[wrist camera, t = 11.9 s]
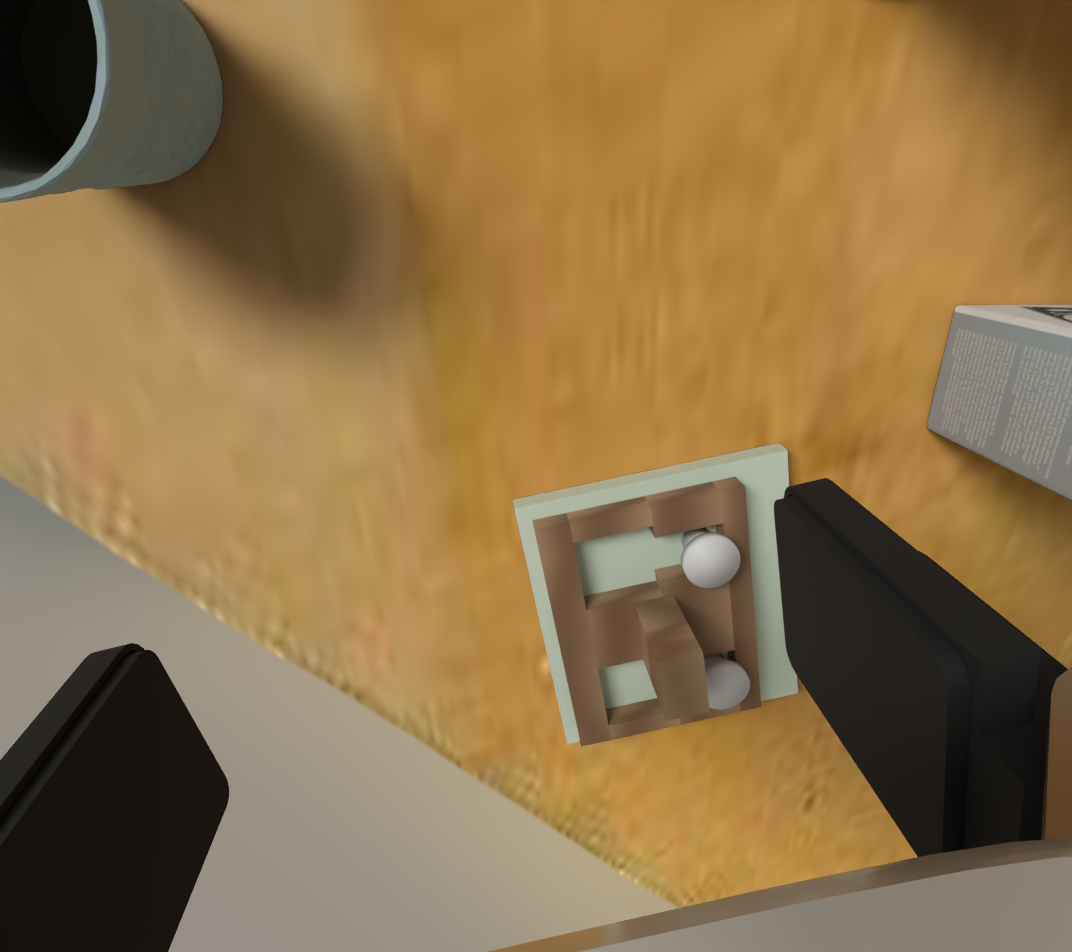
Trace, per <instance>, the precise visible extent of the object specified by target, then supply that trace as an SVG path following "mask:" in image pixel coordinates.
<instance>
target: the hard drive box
mask: <svg viewBox="0 0 1072 952" xmlns="http://www.w3.org/2000/svg"><path fill="white" fill-rule="evenodd" d="M927 428H928V429H929V430H931V431H933V432H935V433H937V434H939V435H941V436H943V437H945V438H947V439H949V440H951V441H952V442H955V443H957V444H959V445H961V446H963V447H965V448H967V449H969V450H971V451H973V452H975V453H977V454H979V455H981V456H983V457H985V458H987V459H989V460H991V461H993V462H995V463H997V464H999V465H1001V466H1003V467H1005V468H1007V469H1009V470H1011V471H1013V472H1015V473H1017V474H1019V475H1021V476H1023V477H1025V478H1027V479H1029V480H1031V481H1033V482H1035V483H1037V484H1039V485H1041V486H1043V487H1045V488H1047V489H1049V490H1051V491H1053V492H1055V493H1057V494H1059V495H1061V496H1063V497H1065V498H1067V499H1069V500H1071V501H1072V305H1027V304H1026V305H960V306H957V307H956V308H955V310H954V314H953V318H952V322H951V326H950V330H949V335H948V339H947V343H946V347H945V351H944V355H943V359H942V363H941V367H940V371H939V375H938V380H937V384H936V388H935V392H934V396H933V401H932V405H931V409H930V413H929V418H928V422H927Z"/></svg>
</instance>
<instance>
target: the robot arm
mask: <svg viewBox="0 0 1072 952" xmlns="http://www.w3.org/2000/svg"><path fill="white" fill-rule="evenodd" d="M774 519H775V531H776V542H777V554H778V565H779V577H780V588H781V600H782V611H783V623H784V634H785V645H786V651H787V655H788V658H789V661H790V663H791V665H792V668H793V669H794V671H795V673H796V674H797V676H798V677H799V679H800V680H801V682H802V683H803V685H804V686H805V688H806V689H807V691H808V692H809V694H810V695H811V697H812V698H813V700H814V701H815V703H816V704H817V706H818V707H819V709H820V710H821V712H822V713H823V715H824V716H825V718H826V719H827V721H828V722H829V724H830V725H831V727H832V728H833V730H834V731H835V733H836V734H837V736H838V737H839V739H840V740H841V742H842V743H843V745H844V746H845V748H846V749H847V751H848V752H849V754H850V755H851V757H852V759H853V760H854V762H855V763H856V765H857V766H858V768H859V769H860V771H861V772H862V774H863V775H864V777H865V778H866V780H867V781H868V783H869V784H870V786H871V787H872V789H873V790H874V792H875V793H876V795H877V796H878V798H879V799H880V801H881V802H882V804H883V805H884V807H885V808H886V810H887V811H888V813H889V814H890V816H891V817H892V819H893V820H894V822H895V823H896V825H897V826H898V828H899V829H900V831H901V832H902V834H903V835H904V837H905V838H906V840H907V841H908V843H909V844H910V846H911V847H912V849H913V850H914V852H915V853H916V855H917V856H918V857H917V858H912V859H907V860H902V861H898V862H893V863H888V864H883V865H878V866H873V867H868V868H864V869H859V870H854V871H849V872H844V873H839V874H835V875H830V876H825V877H820V878H815V879H810V880H806V881H801V882H796V883H791V884H786V885H781V886H777V887H772V888H767V889H763V890H759V891H754V892H750V893H745V894H741V895H736V896H732V897H727V898H723V899H719V900H714V901H710V902H705V903H701V904H696V905H692V906H688V907H683V908H679V909H674V910H670V911H665V912H661V913H657V914H652V915H648V916H643V917H639V918H634V919H630V920H626V921H621V922H617V923H613V924H608V925H603V926H599V927H595V928H590V929H586V930H581V931H577V932H573V933H568V934H564V935H559V936H555V937H550V938H546V939H541V940H537V941H533V942H528V943H524V944H520V945H516V946H511V947H507V948H502V949H498V950H494V951H489V952H1072V668H1069V669H1067V668H1066V667H1064V666H1063V665H1062V664H1061V663H1060V662H1058V661H1057V660H1056V659H1055V658H1053V657H1052V656H1051V655H1050V654H1048V653H1047V652H1046V651H1045V650H1043V649H1042V648H1041V647H1040V646H1038V645H1037V644H1036V643H1035V642H1033V641H1032V640H1031V639H1030V638H1029V637H1027V636H1026V635H1025V634H1024V633H1022V632H1021V631H1020V630H1019V629H1017V628H1016V627H1015V626H1014V625H1012V624H1011V623H1010V622H1009V621H1007V620H1006V619H1005V618H1004V617H1003V616H1001V615H1000V614H999V613H998V612H996V611H995V610H994V609H993V608H991V607H990V606H989V605H988V604H986V603H985V602H984V601H983V600H981V599H980V598H979V597H978V596H976V595H975V594H974V593H973V592H972V591H970V590H969V589H968V588H967V587H965V586H964V585H963V584H962V583H960V582H959V581H958V580H957V579H955V578H954V577H953V576H952V575H950V574H949V573H948V572H947V571H946V570H944V569H943V568H942V567H941V566H939V565H938V564H937V563H936V562H934V561H933V560H932V559H931V558H929V557H928V556H926V555H925V554H923V553H921V552H920V551H917V550H916V549H915V548H914V547H912V546H911V545H910V544H909V543H907V542H906V541H905V540H904V539H902V538H901V537H900V536H899V535H898V534H896V533H895V532H894V531H893V530H891V529H890V528H889V527H888V526H887V525H885V524H884V523H883V522H882V521H880V520H879V519H878V518H877V517H875V516H874V515H873V514H872V513H871V512H869V511H868V510H867V509H866V508H864V507H863V506H862V505H861V504H859V503H858V502H857V501H856V500H855V499H853V498H852V497H851V496H850V495H848V494H847V493H846V492H845V491H843V490H842V489H841V488H840V487H839V486H837V485H836V484H835V483H834V482H832V481H831V480H829V479H827V478H824V479H819V480H815V481H811V482H807V483H803V484H798V485H794V486H790V487H787V488H786V490H785V493H784V498H782V499H778V500H776V501H775V502H774ZM228 799H229V786H228V781H227V779H226V777H225V775H224V773H223V771H222V769H221V767H220V766H219V764H218V762H217V761H216V759H215V757H214V755H213V753H212V752H211V750H210V749H209V746H208V745H207V743H206V741H205V739H204V737H203V736H202V734H201V732H200V730H199V729H198V727H197V725H196V724H195V722H194V720H193V718H192V716H191V715H190V713H189V711H188V709H187V707H186V706H185V704H184V702H183V701H182V699H181V697H180V695H179V693H178V692H177V690H176V688H175V686H174V685H173V683H172V681H171V679H170V678H169V676H168V674H167V672H166V670H165V669H164V667H163V665H162V663H161V662H160V660H159V658H158V657H157V655H156V654H155V653H154V652H152V651H151V650H144V648H142V647H141V646H139V645H138V644H133V643H131V644H127V645H123V646H119V647H115V648H110V649H106V650H102V651H98V652H94V653H91V654H90V655H89V656H87V657H86V658H85V659H84V660H83V662H82V663H81V664H80V665H79V666H78V668H77V669H76V670H75V671H74V672H73V674H72V675H71V676H70V677H69V679H68V680H67V681H66V682H65V683H64V684H63V686H62V687H61V688H60V689H59V690H58V692H57V693H56V694H55V696H53V698H52V699H51V700H50V701H49V703H48V704H47V705H46V706H45V707H44V708H43V710H42V711H41V712H40V713H39V714H38V716H37V717H36V718H35V719H34V720H33V722H32V723H31V724H30V725H29V727H28V728H27V729H26V730H25V731H24V732H23V734H22V735H21V736H20V737H19V738H18V740H17V741H16V742H15V743H14V744H13V746H12V747H11V748H10V749H9V750H8V752H7V753H6V754H5V755H4V756H3V758H2V759H1V760H0V952H168V950H169V948H170V945H171V943H172V940H173V938H174V935H175V933H176V930H177V928H178V925H179V923H180V921H181V918H182V916H183V913H184V911H185V908H186V906H187V903H188V901H189V898H190V896H191V893H192V891H193V888H194V886H195V883H196V881H197V878H198V876H199V874H200V871H201V868H202V866H203V864H204V861H205V859H206V856H207V854H208V851H209V848H210V846H211V844H212V841H213V839H214V836H215V834H216V831H217V829H218V826H219V824H220V821H221V819H222V816H223V814H224V812H225V809H226V807H227V803H228Z"/></svg>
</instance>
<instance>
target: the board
mask: <svg viewBox="0 0 1072 952" xmlns="http://www.w3.org/2000/svg"><path fill="white" fill-rule="evenodd" d="M730 477H736V478H737V479H738V480H739V481H740V482H741V483H742V484H743V485H744V486H745V491H746V505H747V518H748V532H749V545H750V559H751V573H752V586H753V600H754V613H755V627H756V641H757V654H758V668H759V681H760V695H761V701H765V700H770V699H775V698H779V697H784V696H788V695H793V694H797V693H798V683H797V674H796V673H795V671H794V669H793V668H792V665H791V663H790V661H789V658H788V655H787V651H786V645H785V634H784V623H783V611H782V600H781V588H780V577H779V565H778V554H777V542H776V531H775V519H774V502H775V501H776V500H778V499H782V498H784V493H785V490H786V488H787V487H789V474H788V451H787V449H785V448H784V447H783V446H782V445H780V444H779V443H777V444H772V445H767V446H763V447H758V448H753V449H749V450H744V451H739V452H735V453H730V454H725V455H720V456H716V457H711V458H706V459H702V460H697V461H692V462H688V463H683V464H678V465H674V466H669V467H664V468H660V469H655V470H650V471H646V472H641V473H636V474H632V475H627V476H622V477H617V478H613V479H608V480H603V481H599V482H594V483H589V484H585V485H580V486H575V487H571V488H566V489H561V490H557V491H552V492H547V493H543V494H538V495H533V496H529V497H524V498H519V499H514V500H513V503H514V509H515V514H516V518H517V522H518V527H519V531H520V536H521V540H522V545H523V549H524V553H525V558H526V562H527V567H528V571H529V576H530V580H531V585H532V589H533V593H534V598H535V602H536V607H537V611H538V616H539V620H540V624H541V629H542V633H543V638H544V642H545V647H546V651H547V656H548V660H549V664H550V669H551V673H552V678H553V682H554V687H555V691H556V695H557V700H558V704H559V709H560V713H561V718H562V722H563V727H564V731H565V735H566V740H567V744H569V743H574V742H579V741H580V738H579V734H578V729H577V724H576V720H575V715H574V711H573V706H572V701H571V697H570V692H569V688H568V683H567V678H566V674H565V669H564V665H563V660H562V655H561V651H560V646H559V642H558V637H557V632H556V628H555V623H554V619H553V614H552V609H551V605H550V600H549V596H548V591H547V586H546V582H545V577H544V573H543V568H542V563H541V559H540V554H539V550H538V545H537V540H536V536H535V531H534V526H533V521H532V520H536V519H540V518H545V517H550V516H554V515H559V514H564V513H568V512H573V511H577V510H582V509H587V508H591V507H596V506H601V505H605V504H610V503H615V502H619V501H624V500H628V499H633V498H638V497H642V496H647V495H652V494H656V493H661V492H666V491H670V490H675V489H679V488H684V487H689V486H693V485H698V484H703V483H707V482H712V481H716V480H721V479H726V478H730ZM574 548H575V553H576V559H577V564H578V569H579V574H580V579H581V585H582V590H583V595H584V596H587V595H592V594H597V593H601V592H606V591H610V590H615V589H620V588H624V587H629V586H633V585H638V584H643V583H647V582H652V581H656V577H655V570H654V569H659V568H664V567H668V566H673V565H677V564H681V566H682V569H683V571H684V573H685V574H686V576H687V578H688V579H689V580H690V581H691V582H692V583H693V584H694V585H696V586H699V587H702V588H714V587H718V586H721V585H723V584H725V583H726V582H728V581H729V580H730V579H732V577H733V576H734V575H735V574H736V572H737V571H738V568H739V566H740V553H739V550H738V548H737V547H736V546H735V544H734V543H733V542H732V540H731V539H730V538H729V537H727V536H726V535H724V534H721V533H717V532H716V525H713V526H709V527H704V528H700V529H695V530H690V531H686V532H681V533H677V534H672V535H667V536H663V537H658V538H655V537H654V536H653V534H652V532H651V530H650V528H649V527H646V528H641V529H637V530H632V531H627V532H623V533H618V534H614V535H609V536H604V537H600V538H595V539H590V540H586V541H581V542H577V543H574ZM704 665H705V674H706V683H707V691H708V700H709V707H710V708H712V709H719V710H721V709H728V708H731V707H734V706H736V705H737V704H739V703H740V702H741V701H743V700H744V698H745V697H746V696H747V694H748V692H749V690H750V680H749V677H748V675H747V674H746V672H745V670H744V669H743V667H742V666H741V665H740V664H738V663H737V662H734V661H731V660H729V659H728V651H727V652H723V653H718V654H714V655H709V656H705V657H704ZM598 673H599V678H600V683H601V688H602V694H603V699H604V704H605V709H609V708H613V707H618V706H622V705H627V704H631V703H636V702H641V701H645V700H650V699H654V698H657V695H656V693H655V690H654V687H653V685H652V682H651V680H650V677H649V674H648V672H647V669H646V667H645V664H644V661H643V660H638V661H634V662H629V663H624V664H620V665H615V666H611V667H606V668H602V669H598Z"/></svg>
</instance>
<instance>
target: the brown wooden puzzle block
mask: <svg viewBox="0 0 1072 952" xmlns="http://www.w3.org/2000/svg"><path fill="white" fill-rule="evenodd" d="M532 521H533V526H534V531H535V536H536V540H537V545H538V550H539V554H540V559H541V563H542V568H543V573H544V577H545V582H546V586H547V591H548V596H549V600H550V605H551V609H552V614H553V619H554V623H555V628H556V632H557V637H558V642H559V646H560V651H561V655H562V660H563V665H564V669H565V674H566V678H567V683H568V688H569V692H570V697H571V701H572V706H573V711H574V715H575V720H576V724H577V729H578V734H579V738H580V743H581V746H586V745H590V744H595V743H599V742H604V741H608V740H613V739H617V738H622V737H626V736H631V735H635V734H640V733H645V732H649V731H654V730H658V729H663V728H667V727H672V726H676V725H681V724H685V723H690V722H694V721H699V720H703V719H708V718H712V717H717V716H721V715H726V714H731V713H735V712H740V711H744V710H749V709H753V708H758V707H761V695H760V681H759V668H758V654H757V641H756V627H755V613H754V600H753V586H752V573H751V559H750V545H749V532H748V518H747V505H746V491H745V486H744V485H743V484H742V483H741V482H740V481H739V480H738V479H737V478H736V477H730V478H726V479H721V480H716V481H712V482H707V483H703V484H698V485H693V486H689V487H684V488H679V489H675V490H670V491H666V492H661V493H656V494H652V495H647V496H642V497H638V498H633V499H628V500H624V501H619V502H615V503H610V504H605V505H601V506H596V507H591V508H587V509H582V510H577V511H573V512H568V513H564V514H559V515H554V516H550V517H545V518H540V519H536V520H532ZM713 525H716V532H717V533H721V534H724V535H726V536H727V537H729V538H730V539H731V540H732V542H733V543H734V544H735V546H736V547H737V548H738V550H739V553H740V566H739V568H738V571H737V572H736V574H735V575H734V576H733V577H732V579H730V580H729V581H728V582H726V583H725V584H723V585H721V586H718V587H714V588H702V587H699V586H696V585H694V584H693V583H692V582H691V581H690V580H689V579H688V578H687V576H686V574H685V573H684V571H683V569H682V566H681V564H677V565H673V566H668V567H664V568H659V569H654V570H655V577H656V581H652V582H647V583H643V584H638V585H633V586H629V587H624V588H620V589H615V590H610V591H606V592H601V593H597V594H592V595H587V596H584V595H583V590H582V585H581V579H580V574H579V569H578V564H577V559H576V553H575V548H574V543H577V542H581V541H586V540H590V539H595V538H600V537H604V536H609V535H614V534H618V533H623V532H627V531H632V530H637V529H641V528H646V527H649V528H650V530H651V532H652V534H653V536H654V537H655V538H658V537H663V536H667V535H672V534H677V533H681V532H686V531H690V530H695V529H700V528H704V527H709V526H713ZM727 651H728V659H729V660H731V661H734V662H737V663H738V664H740V665H741V666H742V667H743V669H744V670H745V672H746V674H747V675H748V677H749V680H750V690H749V692H748V694H747V696H746V697H745V698H744V700H743V701H741V702H740V703H739V704H737V705H736V706H734V707H731V708H728V709H721V710H719V709H712V708H710V707H709V700H708V691H707V683H706V674H705V665H704V657H705V656H709V655H714V654H718V653H723V652H727ZM638 660H643V661H644V664H645V667H646V669H647V672H648V674H649V677H650V680H651V682H652V685H653V687H654V690H655V693H656V695H657V698H654V699H650V700H645V701H641V702H636V703H631V704H627V705H622V706H618V707H613V708H609V709H605V704H604V699H603V694H602V688H601V683H600V678H599V673H598V669H602V668H606V667H611V666H615V665H620V664H624V663H629V662H634V661H638Z"/></svg>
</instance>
